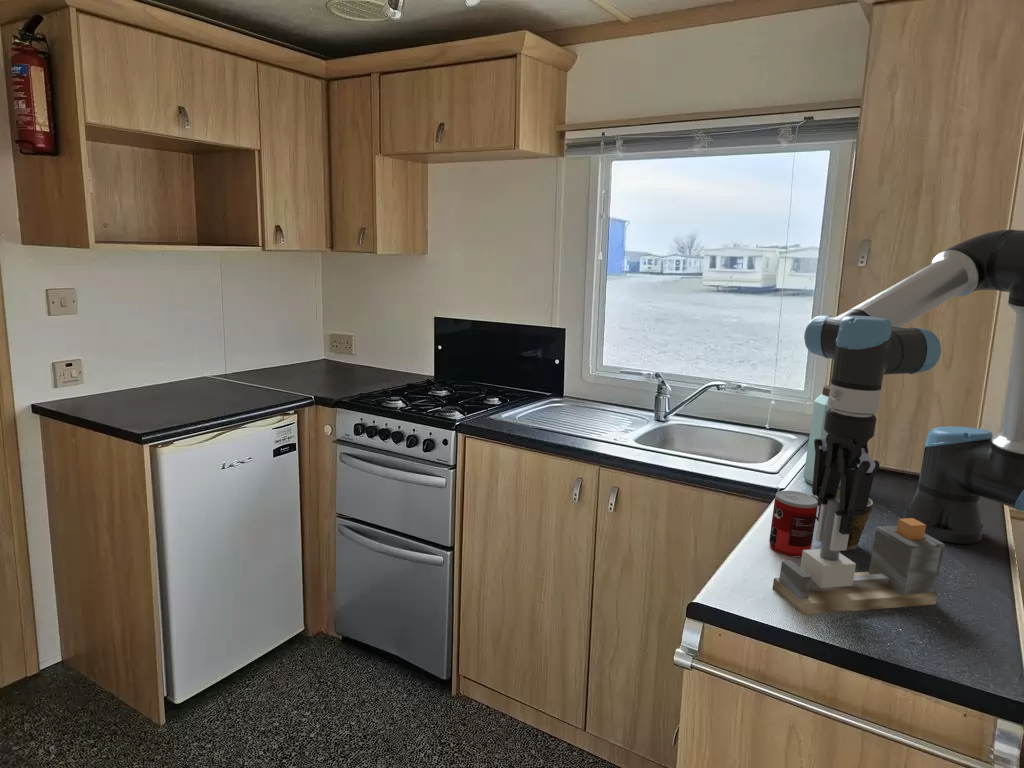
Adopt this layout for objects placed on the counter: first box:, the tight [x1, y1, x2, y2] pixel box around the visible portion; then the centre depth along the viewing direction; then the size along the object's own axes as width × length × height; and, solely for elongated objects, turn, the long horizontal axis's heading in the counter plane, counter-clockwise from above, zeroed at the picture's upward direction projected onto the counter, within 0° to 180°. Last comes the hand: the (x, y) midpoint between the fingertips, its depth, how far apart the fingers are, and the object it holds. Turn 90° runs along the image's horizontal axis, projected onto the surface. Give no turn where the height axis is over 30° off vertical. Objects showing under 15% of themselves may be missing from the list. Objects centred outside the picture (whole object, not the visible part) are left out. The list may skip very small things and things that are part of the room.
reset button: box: [896, 518, 926, 540], centre depth 126 cm, size 3×3×3 cm
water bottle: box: [803, 385, 841, 489], centre depth 182 cm, size 10×10×25 cm
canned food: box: [768, 490, 819, 558], centre depth 143 cm, size 8×8×11 cm
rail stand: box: [772, 525, 946, 616], centre depth 125 cm, size 26×9×11 cm, turn 103°
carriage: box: [799, 498, 857, 588], centre depth 123 cm, size 6×6×14 cm
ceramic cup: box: [809, 488, 874, 551], centre depth 148 cm, size 13×10×10 cm
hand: (830, 544), depth 123 cm, fingers closed on carriage, 3 cm apart
